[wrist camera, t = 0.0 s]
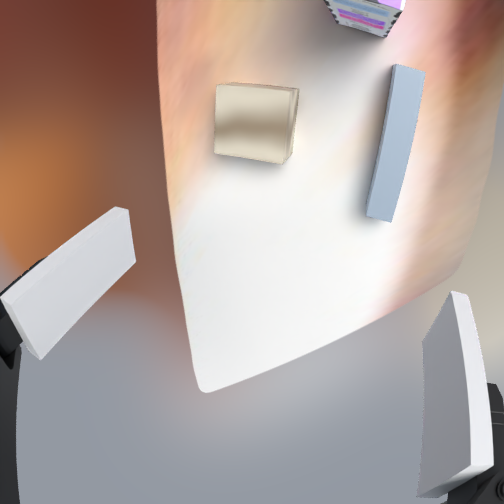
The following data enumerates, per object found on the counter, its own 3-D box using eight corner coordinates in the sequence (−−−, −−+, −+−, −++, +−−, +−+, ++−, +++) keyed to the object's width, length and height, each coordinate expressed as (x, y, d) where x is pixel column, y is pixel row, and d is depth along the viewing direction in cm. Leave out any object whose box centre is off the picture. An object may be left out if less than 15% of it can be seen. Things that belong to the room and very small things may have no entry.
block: (234, 82, 35) (216, 84, 31) (299, 89, 33) (289, 91, 29) (230, 143, 40) (214, 153, 36) (292, 153, 38) (282, 164, 34)
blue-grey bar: (393, 64, 28) (396, 64, 25) (419, 71, 27) (425, 72, 24) (366, 202, 38) (365, 215, 34) (389, 208, 37) (391, 222, 34)
